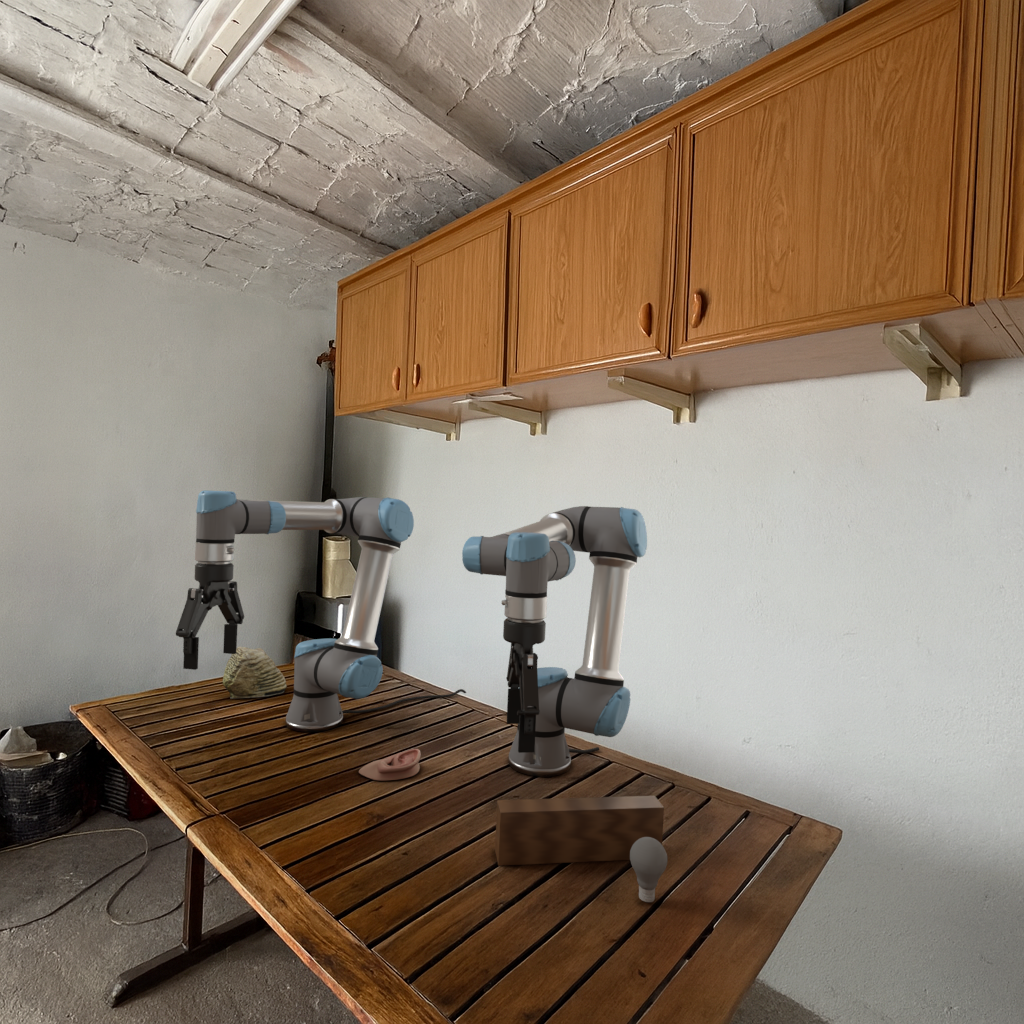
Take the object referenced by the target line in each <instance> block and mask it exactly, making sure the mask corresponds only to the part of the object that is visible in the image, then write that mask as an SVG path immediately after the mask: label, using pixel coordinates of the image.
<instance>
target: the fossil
mask: <svg viewBox="0 0 1024 1024" xmlns="http://www.w3.org/2000/svg"><path fill="white" fill-rule="evenodd" d="M230 655H231V656H230V657H229V659H228V660H227V663H226V666H225V668H224V671H223V675H222V676H223V677H222V685H223V687H224V688H225V690H226V691H228V693H229V698H230V699H250V698H264V697H271V696H275V695H281V694H284V693H285V691H286V689H287V687H288V686H287V680H286V678H285V676H284V674H283V673H282V672H281V669H279V668H278V667H277V665H276V663H275V662H274V660H273V659H272V658H271V657H270V656H269V655H268V654H267V653H266V652H265V650H264V649H263V648H260V647H258V648H251V647H247V646H246V647H245V646H237V648H236V654H230Z"/></svg>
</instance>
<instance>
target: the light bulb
mask: <svg viewBox="0 0 1024 1024" xmlns="http://www.w3.org/2000/svg"><path fill="white" fill-rule="evenodd" d="M629 861H630V864H631V865H630V866H632V869H633V871H634V873H635V875H636V881H637V884H638V898H639V900H641V901H642V902H645V903H653V902H654V901H655V900H656V897H655V896H656V895H655V894H656V888H657V887H658V884H659V880H660V878H661V876H662V875H663V874H664V873H665V871H666V869H667V865H668V854H667V851H666V849H665V847H664V845H663V843H662V844H661V843H660V842H659V841H657V840H656V839H654V838H651V837H642V838H640V839H638V840H637V841H636V842H635V843H634V844H633V846H632V848H631V850H630V860H629Z"/></svg>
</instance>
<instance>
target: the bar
mask: <svg viewBox="0 0 1024 1024" xmlns="http://www.w3.org/2000/svg"><path fill="white" fill-rule="evenodd" d="M664 815H665V807H664V806H663V804H662V803H661V802H660V800H659V799H658V798H657V797H656V796H655V795H632V796H629V795H627V796H597V797H594V796H593V797H563V798H558V797H557V798H528V799H524V798H523V799H498V800H496V816H495V817H496V820H495V839H494V841H495V842H494V854H495V858H496V861H497V866H498V867H501V866H523V865H545V864H546V865H547V864H566V863H587V862H588V863H590V862H612V861H613V862H614V861H615V862H616V861H630V850H631V848H632V846H633V844H634V843H635V842H636V841H637V840H638V839H640V838H642V837H651V838H654V839H656V840H657V841H659V842H660V843H661V844H662V845H663V836H664V835H663V833H664Z"/></svg>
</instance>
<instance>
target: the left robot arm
mask: <svg viewBox="0 0 1024 1024" xmlns="http://www.w3.org/2000/svg"><path fill="white" fill-rule="evenodd" d="M195 513H196V524H195V525H196V529H195V530H196V531H195V547H194V548H195V550H194V560H195V561H196V562H197V563H195V565H194V580H195V581H196V582H198V584H199V585H198V588H193V587H190V588H188V589H187V594H186V595H187V596H186V601H185V605H184V607H183V610H182V612H181V616H180V619H179V622H178V624H177V627H176V631H175V636H176V637H179V638H182V639H183V643H182V644H183V645H182V652H183V666H182V667H183V668H182V669H184V670H194V671H196V670H198V669H199V647H200V645H199V643H200V642H199V641H200V638H199V636H197V635H198V633H199V630H200V629H201V626H202V624H203V623H204V621H205V619H206V617H207V614H208V613H209V611H211V610H213V608H214V607H216V606H217V607H218V609H219V610H220V612H221V614H222V616H223V618H224V619H225V621H226V624H223V625H224V627H223V652H222V653H223V654H229V655H232V654H236V649H237V648H238V646H237V645H238V625H242V624H243V622H244V619H245V613H244V610H243V606H242V603H241V599H240V595H239V591H238V582H237V581H234V580H233V579H234V567H235V566H234V564H233V563H232V561H234V559H235V558H234V557H235V538H236V535H271V534H277V533H280V532H281V531H324V532H326V533H328V534H339V535H340V534H341V535H347V536H351V537H356V538H358V539H357V543H358V544H359V546H360V548H361V551H360V556H359V560H358V565H357V569H356V573H355V577H354V578H355V579H354V581H353V585H352V590H351V596H350V599H349V604H348V608H347V611H346V612H347V613H346V616H345V621H344V625H343V631H342V634H341V636H340V637H339V638H331V637H329V638H317V639H316V638H315V639H308V640H304V641H301V642H299V643H298V644H297V645H296V646H295V650H294V651H295V652H294V656H293V658H294V670H293V671H294V672H293V695H292V696H293V697H292V699H291V702H290V704H289V708H288V711H287V713H286V715H285V726H286V728H287V729H289V730H291V731H294V732H295V731H296V732H301V733H316V732H325V731H329V730H332V729H335V728H337V727H339V726H340V725H342V723H343V722H344V714H364V713H371V712H375V711H380V710H383V709H387V708H390V707H393V706H395V705H397V704H400V703H404V702H408V701H409V702H410V701H415V700H425V699H439V698H440V699H441V698H450V697H453V696H456V695H458V694H459V693H463V694H467V691H466V690H465V689H462V688H460V689H457V690H455V691H454V692H452V693H447V694H435V695H433V694H432V695H421V696H420V695H419V696H413V697H406V698H402V699H398V700H395V701H393V702H390V703H389V704H388V703H387V704H385V705H381V706H377V707H372V708H366V709H359V710H352V709H350V710H349V709H348V710H347V709H346V710H343V709H342V706H341V702H340V699H339V695H340V696H342V697H344V698H349V699H355V700H359V699H365V698H367V697H368V696H369V695H371V693H372V692H374V691H375V690H376V688H378V686H379V685H380V682H381V680H382V677H383V673H384V672H383V671H384V668H383V667H384V666H383V664H382V661H381V659H379V657H378V652H379V647H378V645H377V644H376V642H375V638H376V635H377V630H378V625H379V621H380V617H381V616H380V615H381V612H382V607H383V602H384V599H385V593H386V589H387V585H388V584H387V583H388V579H389V574H390V570H391V565H392V561H393V556H394V555H395V554H396V553H397V552H399V551H400V550H401V546H402V542H405V541H406V540H408V539H409V537H411V535H412V533H413V531H414V527H415V520H414V515H413V512H412V511H411V507H410V506H409V505H408V504H407V503H406V502H405V501H404V500H402V499H397V498H393V497H392V498H391V497H370V496H357V497H356V496H355V497H348V498H329V499H326V500H325V501H299V500H297V501H295V500H266V499H239V498H238V499H237V493H236V492H235V491H228V490H201V491H200V492H199V493H198V496H197V502H196V509H195Z"/></svg>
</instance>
